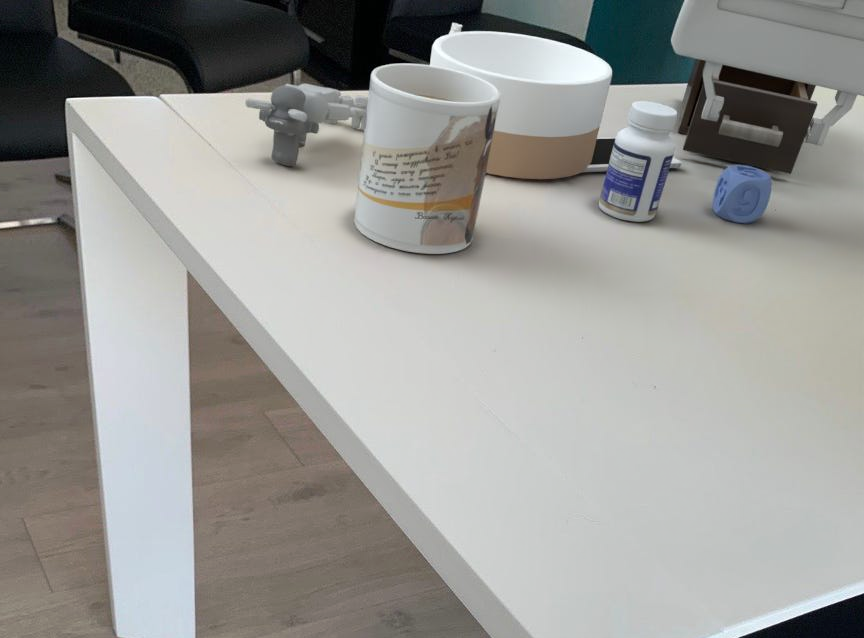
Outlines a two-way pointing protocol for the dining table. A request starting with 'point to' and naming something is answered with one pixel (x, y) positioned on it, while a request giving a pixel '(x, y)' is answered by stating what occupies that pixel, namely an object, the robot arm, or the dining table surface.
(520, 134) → the bowl
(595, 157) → the cell phone
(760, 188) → the decorative dice
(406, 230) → the mug
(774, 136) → the drawer
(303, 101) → the figurine
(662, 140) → the pill bottle
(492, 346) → the dining table surface
